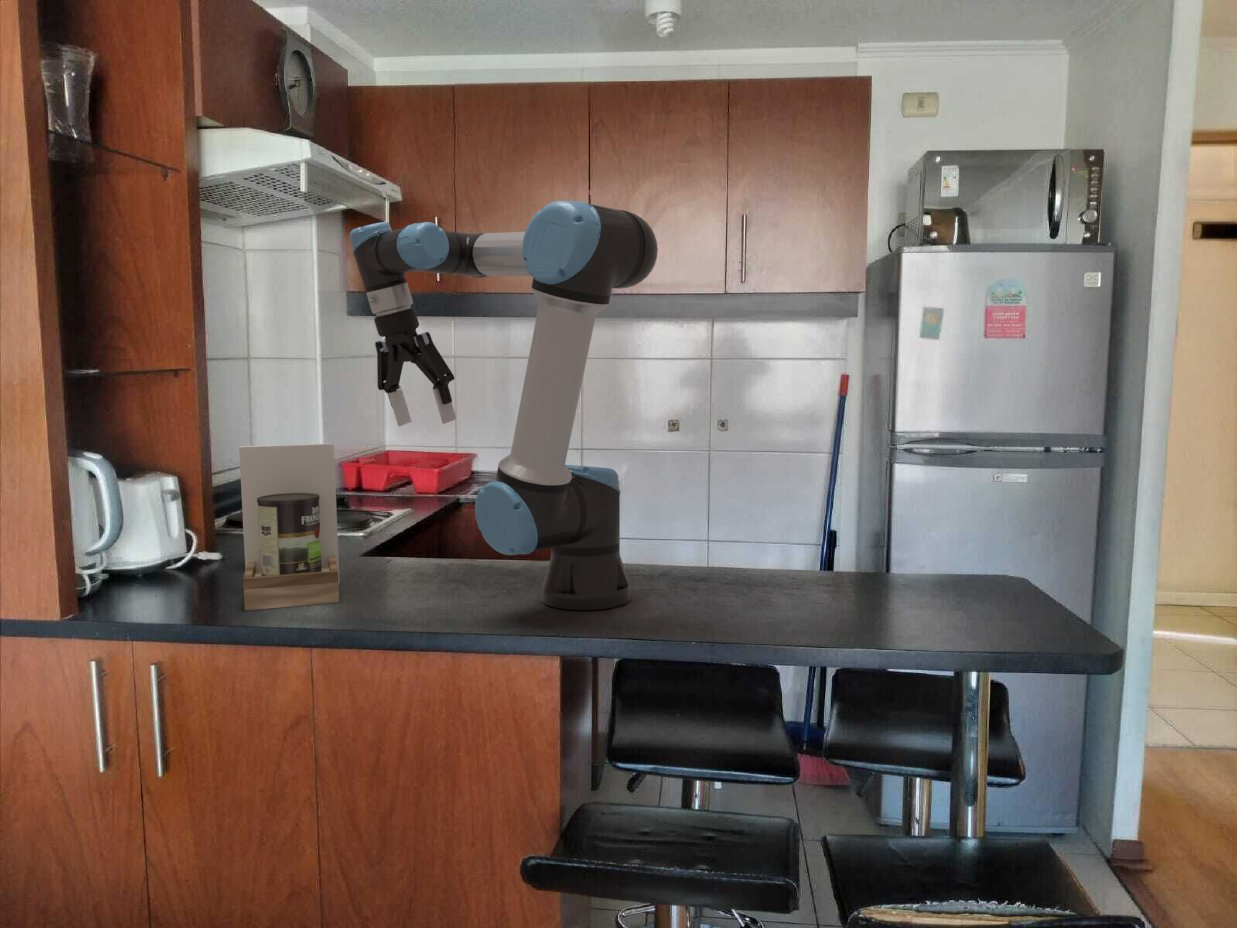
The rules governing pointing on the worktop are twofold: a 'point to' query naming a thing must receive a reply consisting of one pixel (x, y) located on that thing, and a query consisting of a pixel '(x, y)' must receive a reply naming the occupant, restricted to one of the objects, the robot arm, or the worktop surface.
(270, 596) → the shelf
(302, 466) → the beige flat upright panel
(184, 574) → the worktop surface
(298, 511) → the coffee can
